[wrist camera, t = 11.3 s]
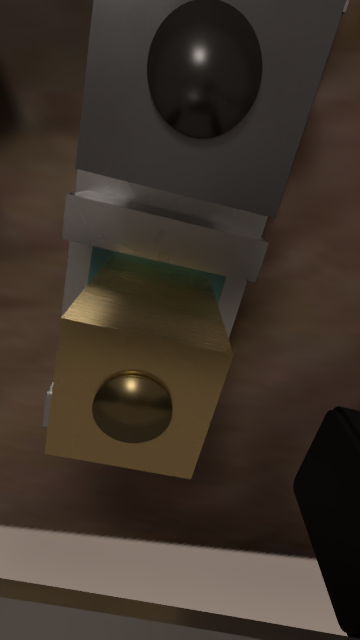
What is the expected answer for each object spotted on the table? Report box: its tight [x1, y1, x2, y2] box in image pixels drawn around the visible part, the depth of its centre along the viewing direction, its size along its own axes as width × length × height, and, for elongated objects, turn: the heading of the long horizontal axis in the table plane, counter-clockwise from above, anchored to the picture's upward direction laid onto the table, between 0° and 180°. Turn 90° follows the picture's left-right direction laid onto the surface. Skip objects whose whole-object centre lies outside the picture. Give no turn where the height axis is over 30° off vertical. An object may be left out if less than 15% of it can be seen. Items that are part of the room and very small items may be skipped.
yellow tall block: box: [45, 257, 234, 479], centre depth 13 cm, size 4×4×7 cm
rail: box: [43, 0, 349, 427], centre depth 13 cm, size 8×26×5 cm, turn 167°
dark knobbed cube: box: [75, 0, 346, 218], centre depth 10 cm, size 4×4×7 cm
